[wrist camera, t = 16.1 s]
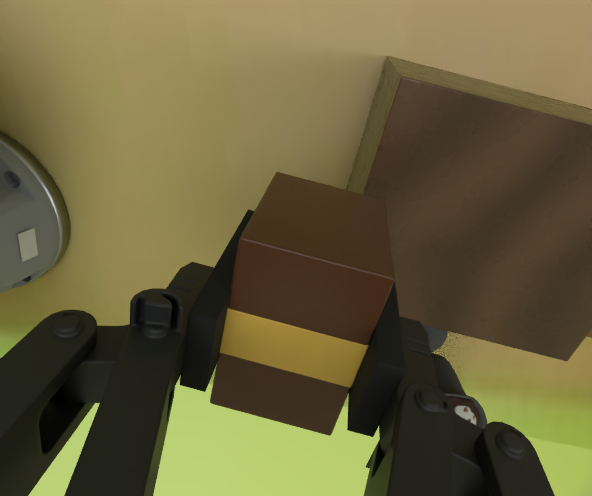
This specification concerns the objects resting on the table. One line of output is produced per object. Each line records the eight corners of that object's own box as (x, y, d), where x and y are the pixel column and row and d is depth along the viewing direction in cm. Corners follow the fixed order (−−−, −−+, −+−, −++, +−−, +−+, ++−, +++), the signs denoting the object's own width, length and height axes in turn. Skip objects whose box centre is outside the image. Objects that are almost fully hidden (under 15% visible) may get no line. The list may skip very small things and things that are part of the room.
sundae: (383, 303, 38) (397, 453, 25) (461, 304, 37) (518, 462, 24) (380, 358, 41) (392, 517, 28) (452, 360, 40) (498, 527, 27)
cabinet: (606, 112, 29) (721, 158, 20) (513, 273, 35) (567, 362, 26) (386, 55, 28) (401, 75, 20) (334, 227, 35) (327, 300, 26)
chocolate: (276, 170, 16) (238, 236, 11) (386, 199, 16) (397, 279, 11) (247, 306, 19) (208, 404, 14) (339, 331, 19) (331, 437, 14)
